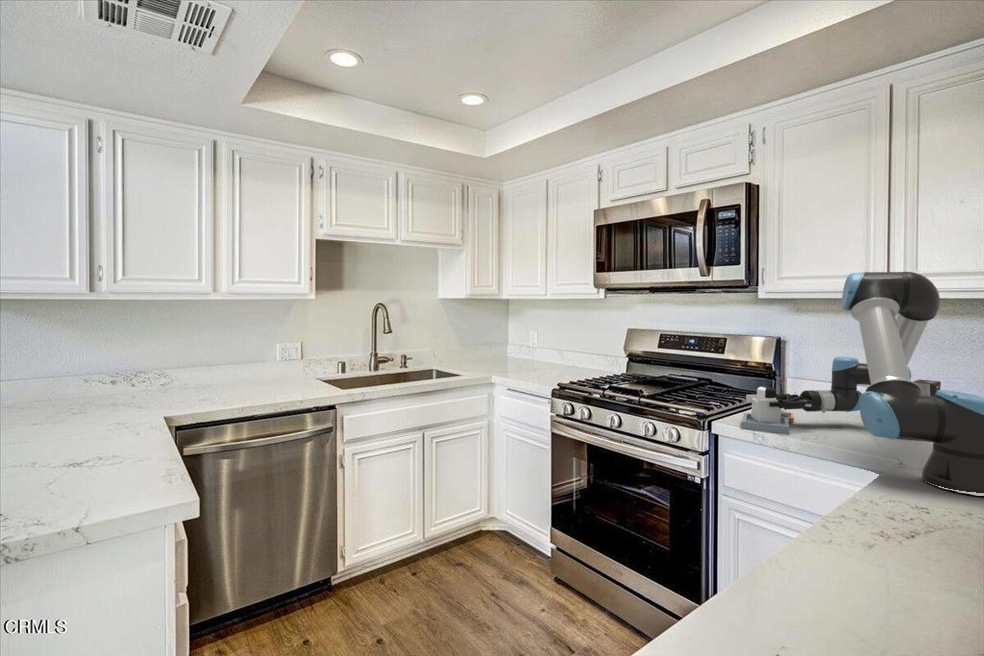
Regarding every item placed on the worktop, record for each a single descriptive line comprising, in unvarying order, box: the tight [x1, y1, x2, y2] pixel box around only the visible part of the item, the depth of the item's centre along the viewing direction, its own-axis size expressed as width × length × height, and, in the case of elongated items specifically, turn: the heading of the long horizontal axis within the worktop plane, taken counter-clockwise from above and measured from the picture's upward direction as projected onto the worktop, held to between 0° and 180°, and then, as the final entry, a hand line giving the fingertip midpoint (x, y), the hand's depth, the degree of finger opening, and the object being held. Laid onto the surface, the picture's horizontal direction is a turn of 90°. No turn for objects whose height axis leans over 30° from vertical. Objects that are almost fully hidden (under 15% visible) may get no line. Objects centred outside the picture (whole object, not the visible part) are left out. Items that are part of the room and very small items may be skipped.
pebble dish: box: [786, 411, 795, 424], centre depth 191 cm, size 10×10×2 cm
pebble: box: [781, 410, 788, 417], centre depth 189 cm, size 3×3×3 cm
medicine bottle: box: [751, 386, 782, 423], centre depth 180 cm, size 7×7×12 cm
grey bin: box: [741, 412, 790, 435], centre depth 181 cm, size 14×14×3 cm
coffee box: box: [912, 378, 942, 396], centre depth 182 cm, size 9×6×16 cm
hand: (752, 401), depth 180 cm, fingers closed on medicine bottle, 8 cm apart
